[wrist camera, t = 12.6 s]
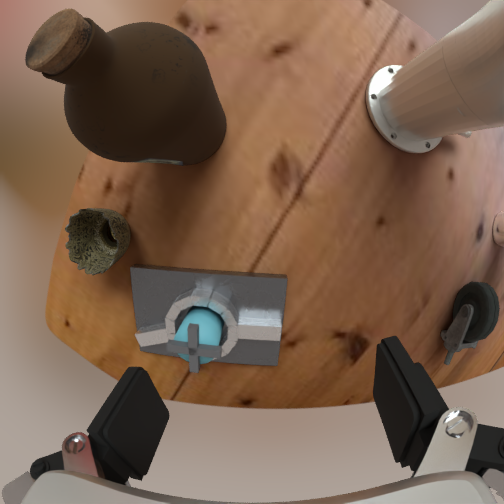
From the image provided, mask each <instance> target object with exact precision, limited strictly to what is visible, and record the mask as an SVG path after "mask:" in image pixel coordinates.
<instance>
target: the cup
mask: <svg viewBox="0 0 504 504" xmlns="http://www.w3.org/2000/svg"><path fill="white" fill-rule="evenodd" d="M65 230H66V232H68V233H69V232H70V234H69V236H68V237H69V241H68V242H67V243H66V248H67V249H69V258H70V260H71V261H72V262H75V263H77V264H79V265H78V269H79V270H81V269H84V268H85V273H86V274H91V273H92V275H95V274H98V273H100V272H101V274H102V273H104V272H105V271H106V270H108V269H109V268H110V267H111V266H112V265H113V264H115V263H116V262H117V261H118V260H119V259H120V258H121V257H122V256H123V254H124V253H125V252H126V250H127V248H128V246H129V243H130V227H129V224H128V223H127V221H126V220H125V218H124V217H123V216H122V215H120V214H119V213H118V212H116V211H113V210H110V209H92V208H87V209H81V210H79V212H78V213H76V214H74V215H72V216H71V217H70V219H69V224H68V225H67V226H66V228H65Z"/></svg>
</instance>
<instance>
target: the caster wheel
mask: <svg viewBox="0 0 504 504" xmlns="http://www.w3.org/2000/svg"><path fill="white" fill-rule="evenodd" d="M499 309H500V308H499V301H498V296H497V294H496V292H495V290H494V289H493V288H492V287H491V286H490V285H488V284H487V283H482V282H470V283H469V284H467V285H465V286H463V288H462V289H461V290H460V292H459V293H458V295H457V297H456V300H455V303H454V309H453V322H452V324H451V326H450V327H449V329H448V330H442V332H441V335H440V336H441V337H442V340H444V341H445V342H444V346H445V348H446V349H447V350H448V353H447V356H446V358H445V361H444V364H446V365H449V364H450V361H451V359H452V356H453V354H454V353H455V352H459V351H461V350H462V349H463V348H471V347H472V348H475V347H476V346H477V343H478V341H479V340H482V339H485V338H486V337H487V336H488V335H489V334H490V333H491V332H492V331H493V330H494V328H495V325H496V323H497V321H498V316H499Z"/></svg>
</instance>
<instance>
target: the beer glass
mask: <svg viewBox="0 0 504 504" xmlns="http://www.w3.org/2000/svg"><path fill="white" fill-rule="evenodd" d="M493 237H494V240H495V242H496V244H497V245H499V246H504V211H501V212H499V213H498V214H497V216H496V218H495V220H494V224H493Z"/></svg>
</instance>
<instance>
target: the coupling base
mask: <svg viewBox="0 0 504 504" xmlns="http://www.w3.org/2000/svg"><path fill="white" fill-rule="evenodd" d="M130 271H131V283H132V293H133V302H134V311H135V318H136V326H137V332H136V333H135V336H136V338H137V340H138V342H139V345H140V351H144V352H150V353H156V354H162V355H168V356H175V357H180V356H179V355H178V353H174V352H168V351H167V346H166V344H167V342H168V340H169V339H170V340H174V337H175V335H176V333H177V331H178V329H179V327H180V325H181V324H182V322H183V320H184V318H185V316H186V314H187V312H188V311H189V309H190V308H191V307H193V306H204V307H209V308H210V309H212V310H214V311H215V312H217V313H218V314H220V315H221V316H222V318H223V320H224V327H223V330H222V334H221V338H220V342H219V346H222V354H221V359H219V358H214V359H213V360H211V361H215V362H226V363H238V364H252V365H272V366H277V364H278V356H279V349H280V341H281V333H282V324H283V315H284V307H285V297H286V288H287V275H281V274H264V273H248V272H232V271H218V270H204V269H190V268H177V267H164V266H152V265H140V264H134V265H133V266H131V267H130Z"/></svg>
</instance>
